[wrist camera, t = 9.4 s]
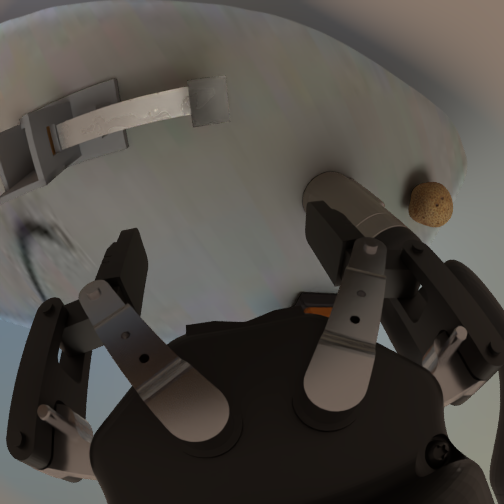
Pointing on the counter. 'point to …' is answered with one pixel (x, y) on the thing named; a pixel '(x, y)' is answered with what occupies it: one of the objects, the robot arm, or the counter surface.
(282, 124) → the counter surface
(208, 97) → the grey handle
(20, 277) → the counter surface
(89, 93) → the chute frame
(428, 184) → the natural sponge
